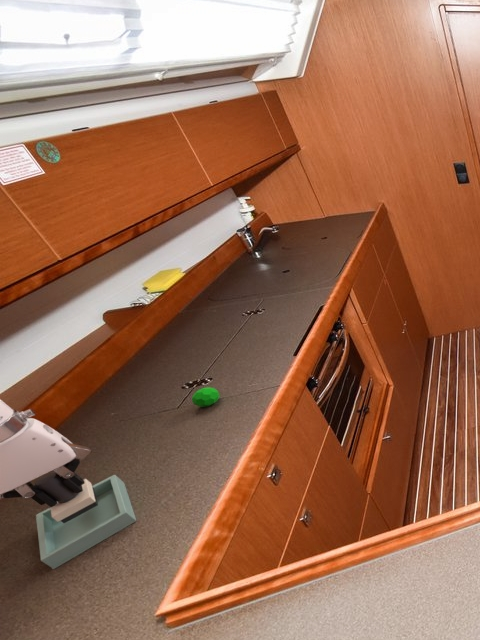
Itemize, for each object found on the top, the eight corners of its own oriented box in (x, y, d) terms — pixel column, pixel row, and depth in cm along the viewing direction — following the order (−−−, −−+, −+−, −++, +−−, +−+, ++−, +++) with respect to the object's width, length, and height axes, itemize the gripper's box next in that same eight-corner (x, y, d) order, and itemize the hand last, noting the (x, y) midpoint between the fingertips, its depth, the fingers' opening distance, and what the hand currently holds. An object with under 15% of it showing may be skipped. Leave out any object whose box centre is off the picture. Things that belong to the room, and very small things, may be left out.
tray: (47, 523, 82) (35, 514, 80) (124, 482, 89) (114, 474, 88) (53, 569, 74) (40, 560, 73) (136, 520, 82) (126, 512, 80)
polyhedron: (209, 396, 111) (199, 384, 109) (228, 395, 111) (218, 383, 109) (193, 411, 107) (182, 398, 104) (212, 410, 107) (201, 397, 104)
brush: (59, 505, 81) (24, 478, 77) (95, 486, 85) (63, 460, 80) (62, 525, 78) (25, 498, 73) (100, 505, 81) (67, 478, 77)
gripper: (58, 395, 78) (123, 455, 87) (-97, 456, 66) (-3, 519, 76) (62, 411, 74) (129, 473, 83) (-102, 480, 63) (-2, 543, 72)
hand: (66, 494), depth 79 cm, fingers closed on brush, 2 cm apart
